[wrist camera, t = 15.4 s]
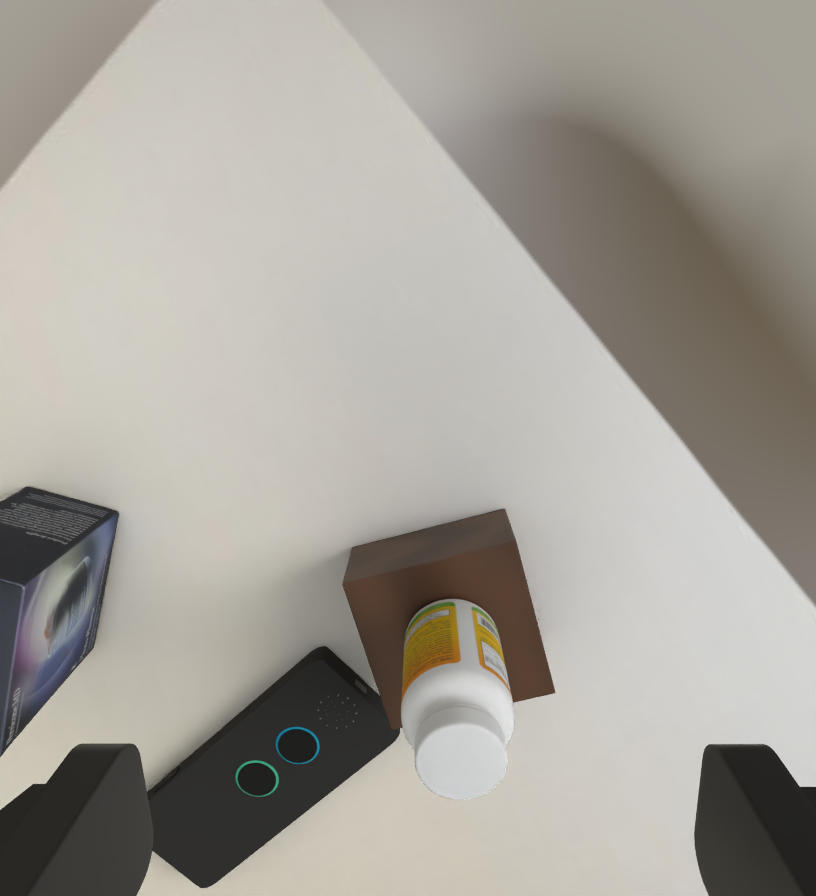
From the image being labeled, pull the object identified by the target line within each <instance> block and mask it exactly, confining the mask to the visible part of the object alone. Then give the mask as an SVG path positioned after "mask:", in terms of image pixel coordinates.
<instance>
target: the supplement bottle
mask: <svg viewBox="0 0 816 896" xmlns="http://www.w3.org/2000/svg"><path fill="white" fill-rule="evenodd" d="M401 720H402V726H403V730H404V734H405V736H406V738H407V740H408V742H409V744H410V745H411V746H412V748H413V749H414V750H415V767H416V771H417V773H418V776H419V778H420V779H421V781H422V782H423V784H424V785H425V786H426V787H427V788H428V789H430V790H431V791H432V792H434V793H436V794H437V795H440V796H442V797H445V798H448V799H454V800H469V799H474V798H478V797H480V796H483V795H485V794H487V793H489V792H490V791H492V790H493V789H494V788H495V787H496V786H497V785H498V784H499V783H500V782H501V780H502V779H503V777H504V775H505V772H506V769H507V751H506V745H507V744H508V742H509V740H510V738H511V735H512V733H513V729H514V721H515V715H514V706H513V700H512V695H511V691H510V686H509V681H508V676H507V671H506V666H505V662H504V657H503V652H502V647H501V643H500V638H499V634H498V631H497V628H496V626H495V623H494V622H493V620H492V618H491V617H490V616H489V615H488V614H487V613H486V612H485V611H484V610H483V609H482V608H481V607H479V606H477V605H476V604H474V603H471V602H469V601H465V600H460V599H445V600H439V601H436V602H433V603H431V604H429V605H427V606H425V607H423V608H422V609H421V610H419V611H418V612H417V613H416V614H415V616H414V617H413V618H412V620H411V621H410V623H409V625H408V628H407V630H406V634H405V641H404V659H403V681H402V701H401Z"/></svg>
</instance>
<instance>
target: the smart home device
mask: <svg viewBox="0 0 816 896" xmlns="http://www.w3.org/2000/svg"><path fill="white" fill-rule="evenodd" d="M399 733H400V728H398V729H393V730H392V729H391V726H390V723H389V720H388V717H387V714H386V711H385V708H384V705H383V702H382V699H381V697H380V696H379V695H378V694H377V693H376V692H375V691H374V690H373V689H372V688H371V687H370V686H368V685H367V684H366V683H365V682H364V681H363V680H362V679H361V678H360V677H359V676H358V675H356V674H355V673H354V672H353V671H352V670H351V669H350V668H349V667H348V666H347V665H345V664H344V663H343V662H342V661H341V660H340V659H339V658H338V657H337V656H336V655H335V654H333V653H332V652H331V651H330V650H329V649H328V648H327V647H320V648H317V649H315V650H314V651H312V652H311V653H309V654H308V655H307V656H306V657H305V658H304V659H302V660H301V661H300V662H299V663H298V664H297V665H295V666H294V667H293V668H292V669H291V670H290V671H288V672H287V673H286V674H285V675H284V676H283V677H281V678H280V679H279V680H278V681H277V682H276V683H274V684H273V685H272V686H271V687H270V688H269V689H267V690H266V691H265V692H264V693H263V694H262V695H260V696H259V697H258V698H257V699H256V700H255V701H253V702H252V703H251V704H250V705H249V706H248V707H246V708H245V709H244V710H243V711H242V712H241V713H239V714H238V715H237V716H236V717H235V718H234V719H232V720H231V721H230V722H229V723H228V724H227V725H226V726H224V727H223V728H222V729H221V730H220V731H219V732H217V733H216V734H215V735H214V736H213V737H212V738H210V739H209V740H208V741H207V742H206V743H205V744H203V745H202V746H201V747H200V748H199V749H198V750H196V751H195V752H194V753H193V754H192V755H191V756H189V757H188V758H187V759H186V760H185V761H184V762H182V763H181V764H180V765H179V766H178V767H177V768H175V769H174V770H173V771H172V772H171V773H170V774H168V775H167V776H166V777H165V778H164V779H163V780H161V781H160V782H159V783H158V784H157V785H156V786H154V787H153V788H152V789H151V790H150V791H149V792H147V796H148V801H149V807H150V812H151V818H152V824H153V848H152V851H154V852H155V853H156V854H158V855H159V856H160V857H161V858H163V859H164V860H165V861H166V862H168V863H169V864H170V865H172V866H173V867H174V868H175V869H177V870H178V871H179V872H180V873H182V874H183V875H184V876H186V877H187V878H188V879H189V880H191V881H192V882H193V883H194V884H196V885H197V886H199V887H200V888H207V887H209V886H211V885H213V884H215V883H216V882H217V881H219V880H220V879H221V878H222V877H224V876H225V875H226V874H228V873H229V872H230V871H231V870H233V869H234V868H235V867H236V866H238V865H239V864H240V863H241V862H243V861H244V860H245V859H247V858H248V857H249V856H250V855H252V854H253V853H254V852H255V851H257V850H258V849H259V848H261V847H262V846H263V845H264V844H266V843H267V842H268V841H269V840H271V839H272V838H273V837H274V836H276V835H277V834H278V833H280V832H281V831H282V830H283V829H285V828H286V827H287V826H288V825H290V824H291V823H292V822H293V821H295V820H296V819H297V818H299V817H300V816H301V815H302V814H304V813H305V812H306V811H307V810H309V809H310V808H311V807H312V806H314V805H315V804H316V803H318V802H319V801H320V800H321V799H323V798H324V797H325V796H326V795H328V794H329V793H330V792H331V791H333V790H334V789H335V788H337V787H338V786H339V785H340V784H342V783H343V782H344V781H345V780H347V779H348V778H349V777H350V776H352V775H353V774H354V773H356V772H357V771H358V770H359V769H361V768H362V767H363V766H364V765H366V764H367V763H368V762H369V761H371V760H372V759H373V758H375V757H376V756H377V755H378V754H380V753H381V752H382V751H383V750H385V749H386V748H387V747H388V746H390V745H391V744H392V743H393V742H394V741H395V740H396V739H397V737H398V736H399Z"/></svg>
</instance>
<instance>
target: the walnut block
mask: <svg viewBox="0 0 816 896" xmlns="http://www.w3.org/2000/svg"><path fill="white" fill-rule="evenodd" d="M342 585H343V588H344V591H345V593H346V596H347V599H348V602H349V605H350V608H351V611H352V614H353V617H354V620H355V623H356V626H357V629H358V632H359V635H360V638H361V640H362V643H363V646H364V649H365V652H366V655H367V658H368V661H369V664H370V667H371V670H372V673H373V676H374V679H375V682H376V685H377V687H378V690H379V693H380V696H381V699H382V702H383V705H384V708H385V711H386V714H387V717H388V720H389V723H390V726H391V729H392V730H393V729H398V728H402V727H403V726H402V720H401V701H402V681H403V659H404V641H405V634H406V630H407V628H408V625H409V623H410V621H411V620H412V618H413V617H414V616H415V614H416V613H417V612H418V611H419V610H421V609H422V608H423V607H425V606H427V605H429V604H431V603H433V602H436V601H439V600H445V599H460V600H465V601H469V602H471V603H474V604H476V605H477V606H479V607H481V608H482V609H483V610H484V611H485V612H486V613H487V614H488V615H489V616H490V617H491V618H492V620H493V622H494V623H495V626H496V628H497V631H498V634H499V638H500V643H501V647H502V652H503V657H504V662H505V666H506V671H507V676H508V681H509V686H510V691H511V695H512V700H513V702H518V701H522V700H526V699H531V698H535V697H540V696H544V695H549V694H553V693H555V689H554V685H553V681H552V678H551V674H550V670H549V666H548V662H547V658H546V654H545V651H544V647H543V643H542V639H541V635H540V631H539V627H538V624H537V620H536V616H535V612H534V608H533V604H532V600H531V597H530V593H529V589H528V585H527V581H526V577H525V573H524V570H523V566H522V562H521V558H520V554H519V550H518V546H517V543H516V539H515V536H514V533H513V531H512V528H511V525H510V522H509V519H508V516H507V513H506V510H505V509H502V510H498V511H494V512H490V513H486V514H482V515H478V516H474V517H470V518H466V519H462V520H459V521H455V522H451V523H447V524H443V525H439V526H435V527H431V528H427V529H423V530H419V531H415V532H411V533H408V534H404V535H400V536H396V537H392V538H388V539H384V540H380V541H376V542H372V543H368V544H364V545H360V546H357V547H353V548H352V550H351V554H350V557H349V561H348V565H347V569H346V572H345V576H344V580H343V584H342Z"/></svg>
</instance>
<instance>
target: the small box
mask: <svg viewBox="0 0 816 896" xmlns="http://www.w3.org/2000/svg"><path fill="white" fill-rule="evenodd" d="M118 516H119V513H118V512H117V511H115V510H112V509H108V508H105V507H101V506H98V505H94V504H90V503H87V502H84V501H80V500H76V499H73V498H69V497H65V496H61V495H58V494H54V493H50V492H47V491H43V490H39V489H36V488H32V487H25V488H23V489H21V490H20V491H19V492H17V493H15V494H13V495H12V496H10V497H8V498H7V499H5V500H3V501H1V502H0V757H1V756H2V754H3V753H4V752H5V750H6V749H7V748H8V747H9V745H10V744H11V743H12V742H13V741H14V739H15V738H16V737H17V736H18V735H19V734H20V733H21V732H22V730H23V729H24V728H25V727H26V725H27V724H28V723H29V722H30V721H31V720H32V719H33V717H34V716H35V715H36V714H37V713H38V712H39V710H40V709H41V708H42V707H43V706H44V705H45V703H46V702H47V701H48V700H49V699H50V697H51V696H52V695H53V694H54V693H55V692H56V691H57V689H58V688H59V687H60V686H61V685H62V684H63V682H64V681H65V680H66V679H67V678H68V677H69V675H70V674H71V673H72V672H73V671H74V670H75V669H76V667H77V666H78V665H79V664H80V663H81V662H82V661H83V659H84V658H85V657H86V656H87V655H88V654H89V653H90V651H91V650H92V649H93V648H94V644H95V638H96V633H97V627H98V622H99V617H100V611H101V606H102V600H103V595H104V590H105V584H106V579H107V574H108V569H109V564H110V558H111V552H112V547H113V542H114V537H115V531H116V526H117V521H118Z"/></svg>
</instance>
